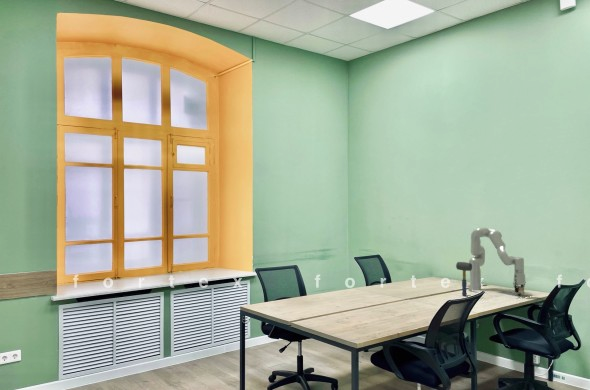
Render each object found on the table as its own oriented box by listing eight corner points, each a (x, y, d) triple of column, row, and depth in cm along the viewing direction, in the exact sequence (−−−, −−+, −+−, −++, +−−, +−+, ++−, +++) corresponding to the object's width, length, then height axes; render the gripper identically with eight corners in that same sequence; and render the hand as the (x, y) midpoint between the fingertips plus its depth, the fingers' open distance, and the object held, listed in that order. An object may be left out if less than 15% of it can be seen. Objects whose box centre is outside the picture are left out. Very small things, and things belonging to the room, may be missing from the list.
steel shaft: (517, 295, 393) (517, 287, 393) (519, 294, 394) (519, 287, 394) (519, 295, 391) (519, 288, 391) (521, 295, 392) (521, 288, 392)
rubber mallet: (473, 296, 396) (472, 262, 396) (468, 297, 391) (468, 263, 391) (460, 294, 405) (459, 261, 406) (455, 295, 400) (455, 261, 401)
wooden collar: (512, 292, 395) (512, 286, 395) (518, 291, 398) (518, 285, 398) (520, 293, 388) (520, 287, 388) (526, 292, 391) (526, 287, 391)
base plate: (496, 293, 407) (496, 292, 407) (505, 292, 412) (505, 290, 412) (520, 298, 386) (520, 297, 386) (529, 297, 391) (529, 295, 391)
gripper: (516, 272, 386) (516, 293, 386) (529, 271, 394) (529, 291, 393) (508, 271, 393) (509, 291, 392) (521, 270, 400) (522, 290, 400)
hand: (519, 291), depth 393 cm, fingers closed on wooden collar, 7 cm apart
